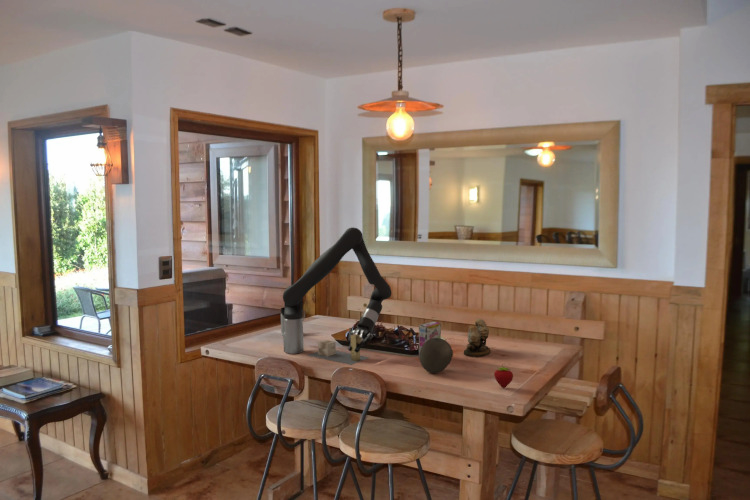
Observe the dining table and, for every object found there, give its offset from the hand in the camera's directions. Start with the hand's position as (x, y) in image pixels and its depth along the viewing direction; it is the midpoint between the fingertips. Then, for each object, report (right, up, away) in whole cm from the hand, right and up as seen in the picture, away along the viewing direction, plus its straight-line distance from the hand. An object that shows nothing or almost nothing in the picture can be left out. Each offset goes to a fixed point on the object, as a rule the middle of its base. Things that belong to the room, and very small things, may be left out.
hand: (352, 350), depth 264 cm
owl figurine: (+61, -4, +14) cm, 62 cm away
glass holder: (-36, -1, +58) cm, 68 cm away
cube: (-13, -4, +13) cm, 19 cm away
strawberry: (+62, -8, -38) cm, 73 cm away
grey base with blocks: (-8, -5, +9) cm, 12 cm away
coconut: (+37, -7, -16) cm, 41 cm away
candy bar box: (+37, -5, +7) cm, 38 cm away
